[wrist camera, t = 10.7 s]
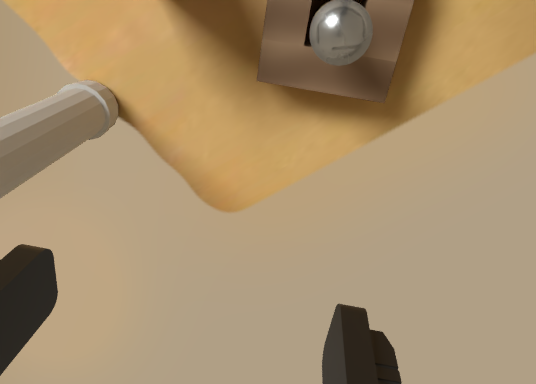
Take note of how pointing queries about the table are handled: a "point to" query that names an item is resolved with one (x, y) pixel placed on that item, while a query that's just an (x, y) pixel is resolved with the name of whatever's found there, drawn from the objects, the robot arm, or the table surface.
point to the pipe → (52, 130)
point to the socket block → (319, 72)
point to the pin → (341, 32)
